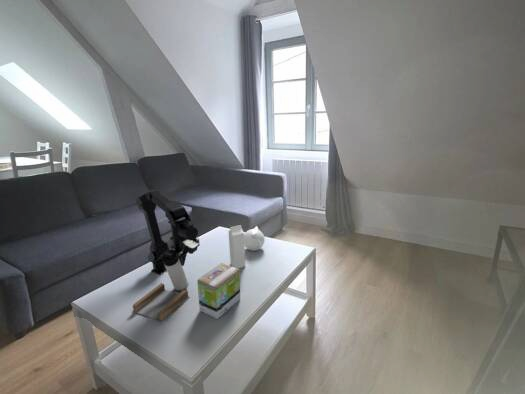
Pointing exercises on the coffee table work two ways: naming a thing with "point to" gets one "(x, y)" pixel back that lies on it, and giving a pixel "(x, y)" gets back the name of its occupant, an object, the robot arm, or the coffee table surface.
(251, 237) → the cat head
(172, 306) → the cradle
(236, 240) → the milk
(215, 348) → the coffee table surface
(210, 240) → the coffee table surface
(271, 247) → the coffee table surface
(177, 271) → the travel mug
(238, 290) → the tea box
